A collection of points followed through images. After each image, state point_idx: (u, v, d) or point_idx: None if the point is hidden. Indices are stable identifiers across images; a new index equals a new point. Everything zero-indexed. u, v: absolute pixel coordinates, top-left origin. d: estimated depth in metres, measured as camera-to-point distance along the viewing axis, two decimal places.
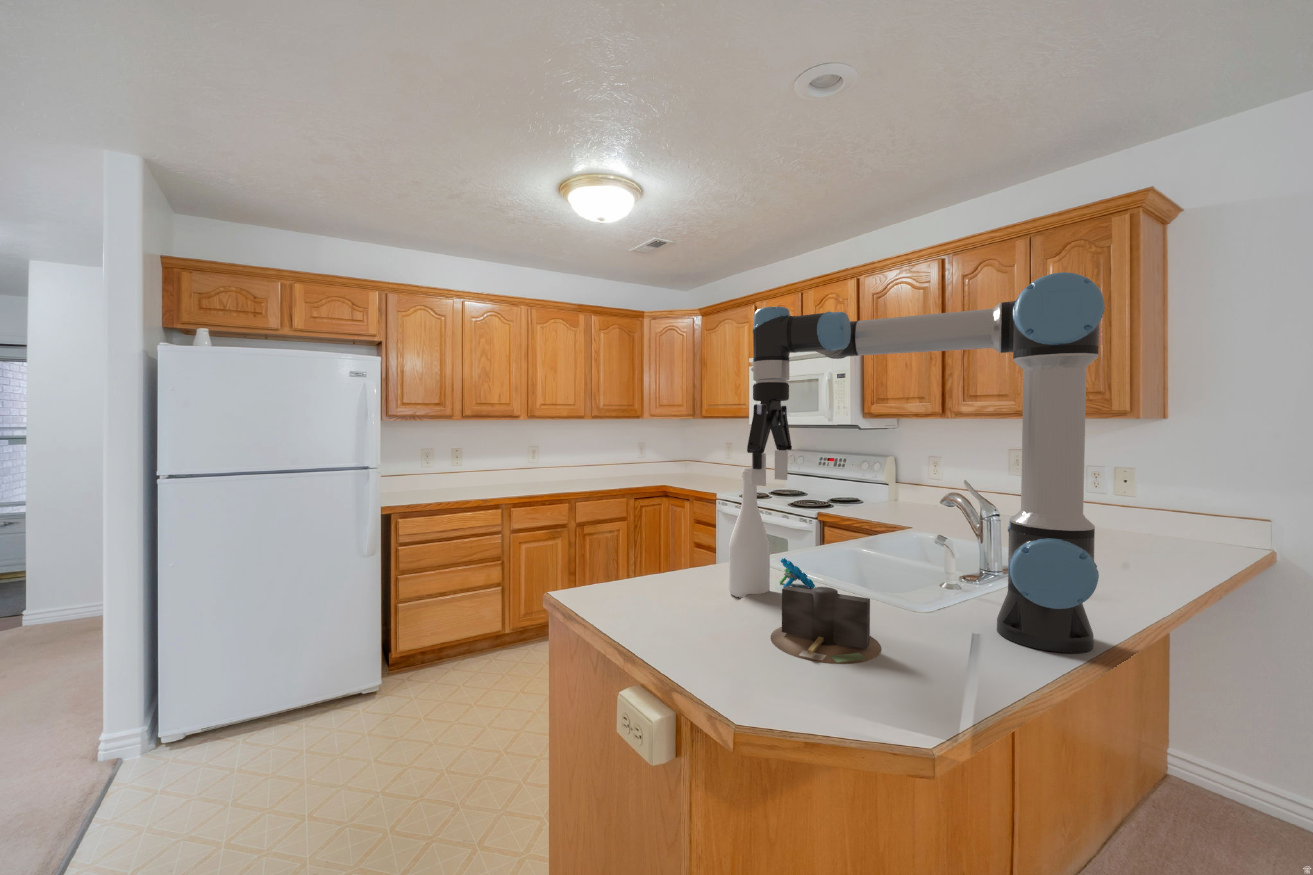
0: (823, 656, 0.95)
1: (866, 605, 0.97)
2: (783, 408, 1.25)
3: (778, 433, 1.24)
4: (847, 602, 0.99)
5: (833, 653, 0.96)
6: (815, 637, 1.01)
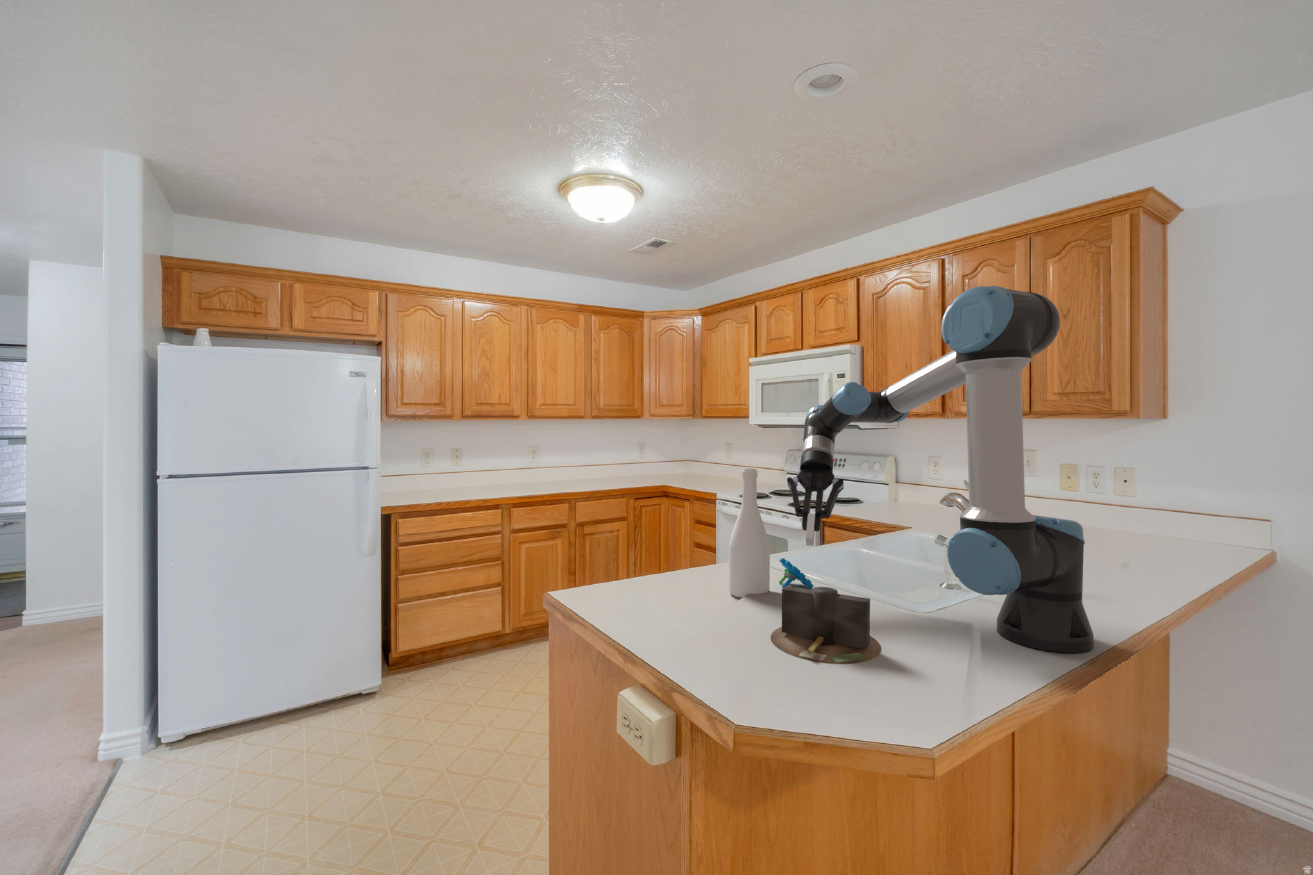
0: (823, 656, 0.95)
1: (866, 605, 0.97)
2: None
3: None
4: (847, 602, 0.99)
5: (833, 653, 0.96)
6: (815, 637, 1.01)
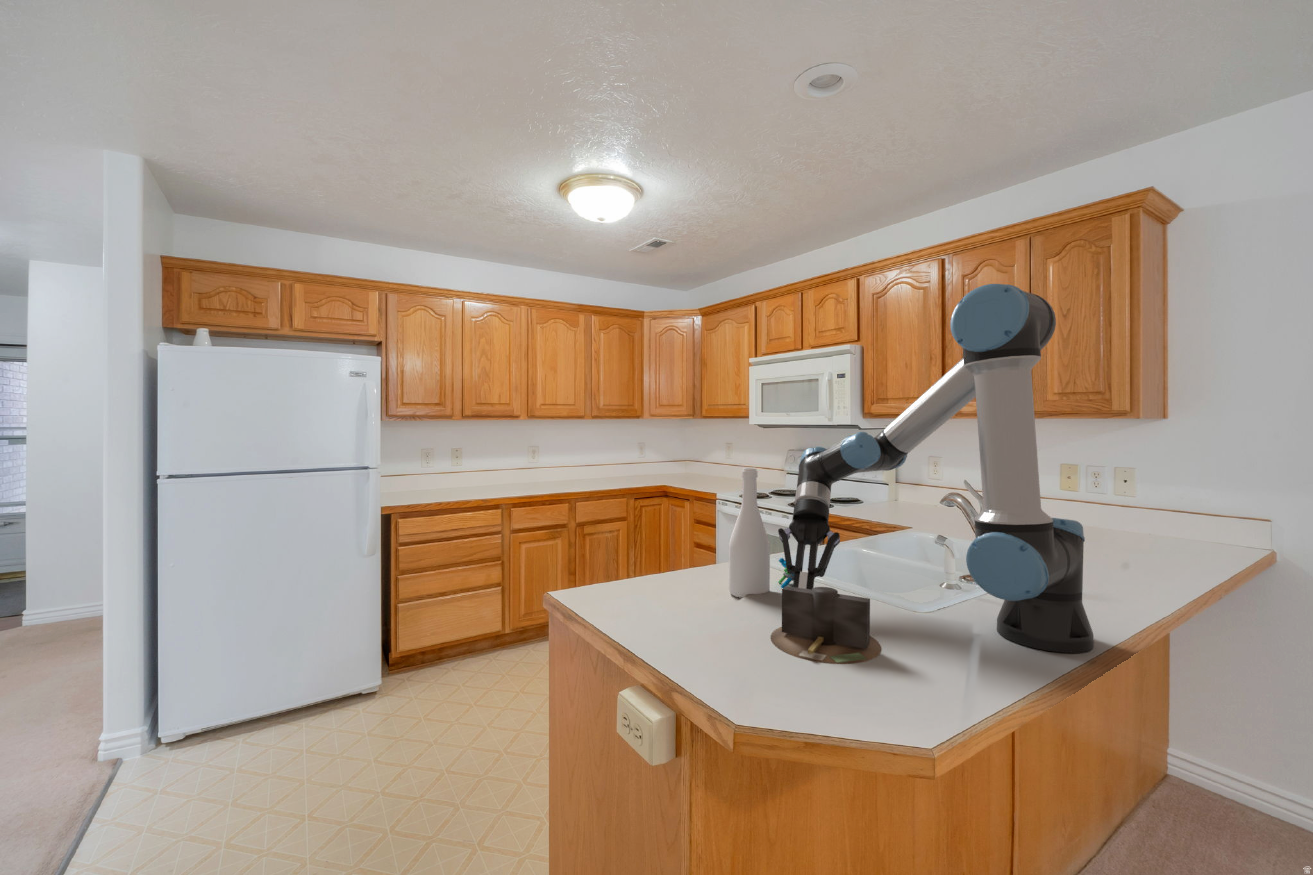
0: (823, 656, 0.95)
1: (866, 605, 0.97)
2: None
3: None
4: (847, 602, 0.99)
5: (833, 653, 0.96)
6: (815, 637, 1.01)
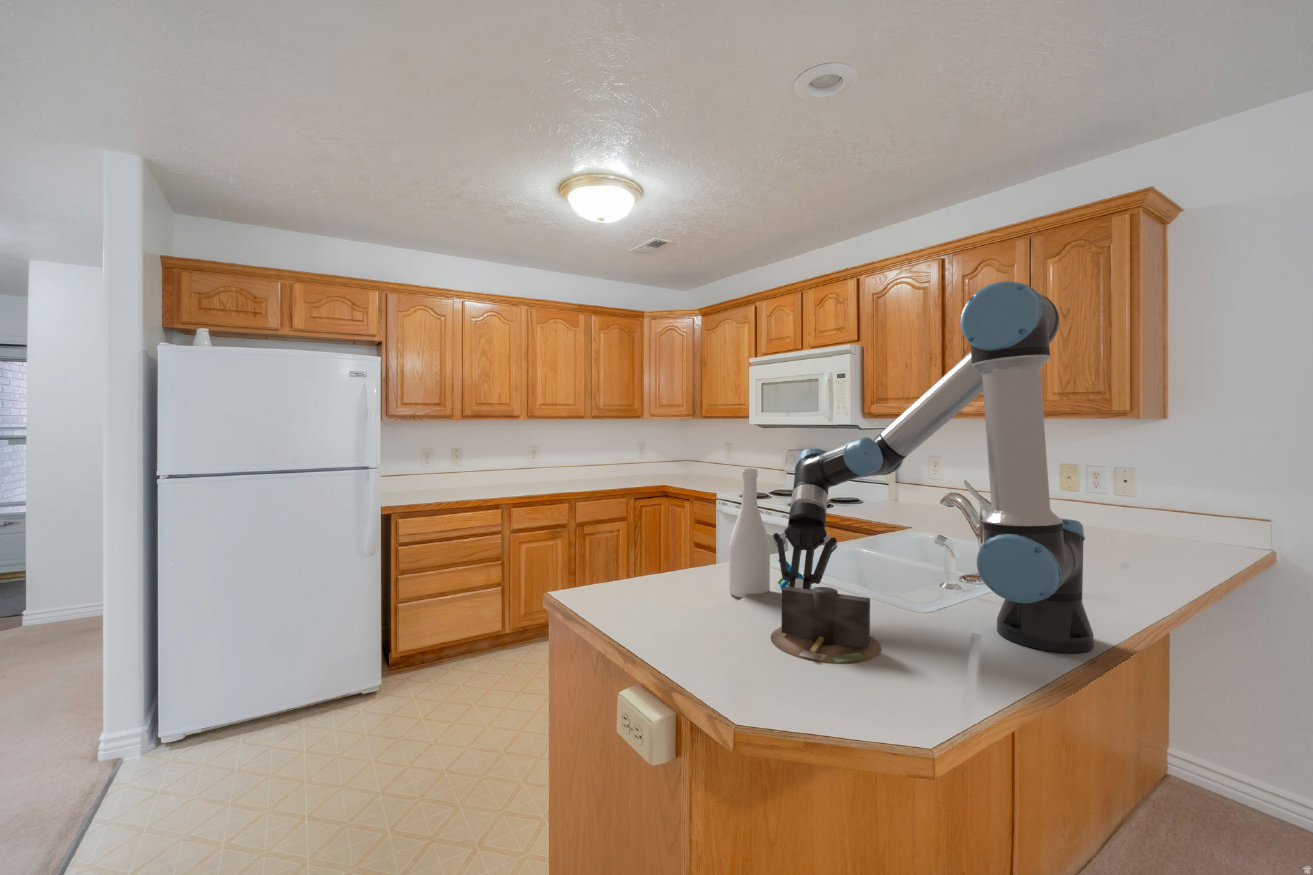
0: (823, 656, 0.95)
1: (866, 605, 0.97)
2: None
3: None
4: (847, 602, 0.99)
5: (833, 653, 0.96)
6: (815, 637, 1.01)
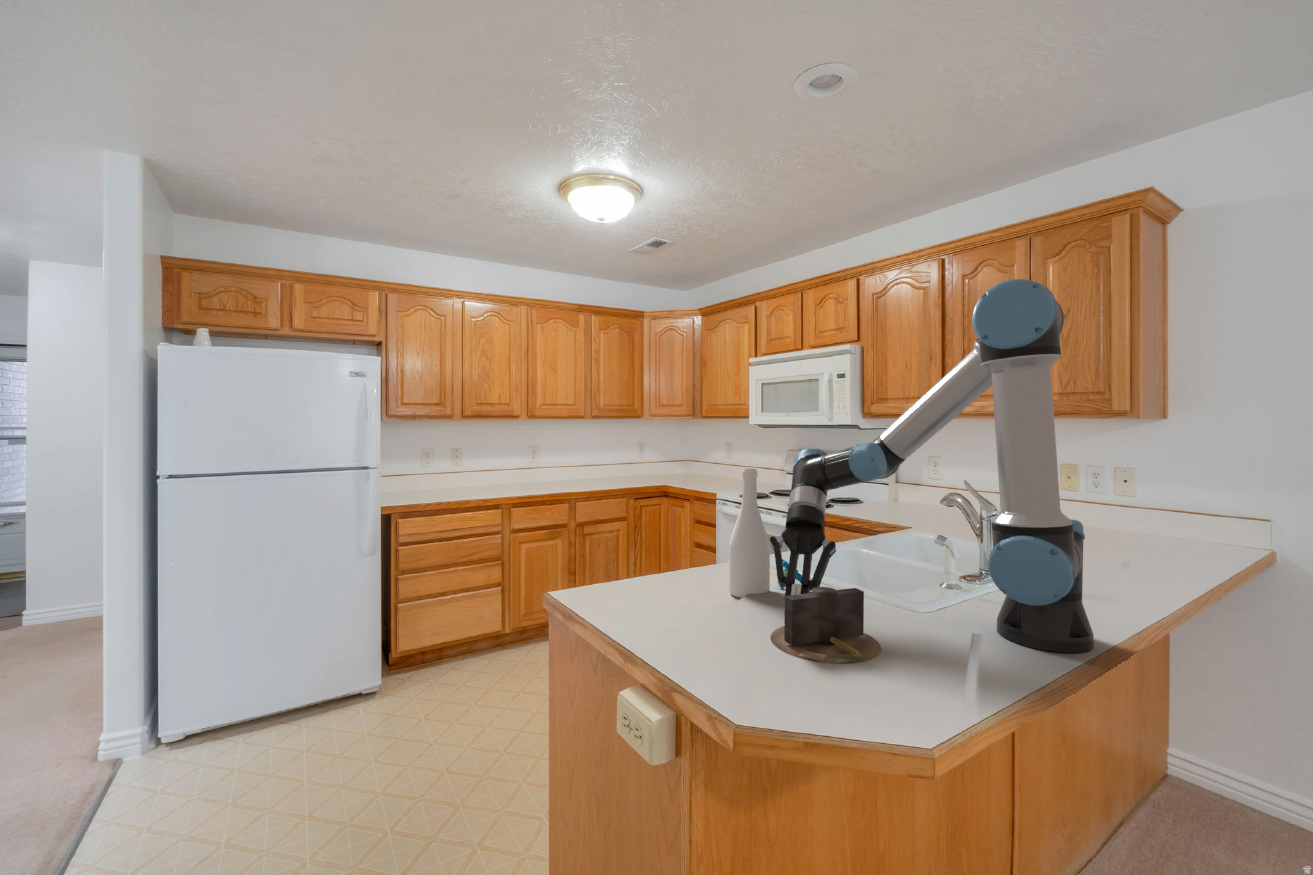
0: (823, 656, 0.95)
1: (862, 595, 1.03)
2: None
3: None
4: (848, 596, 1.02)
5: (833, 653, 0.96)
6: (825, 639, 1.00)
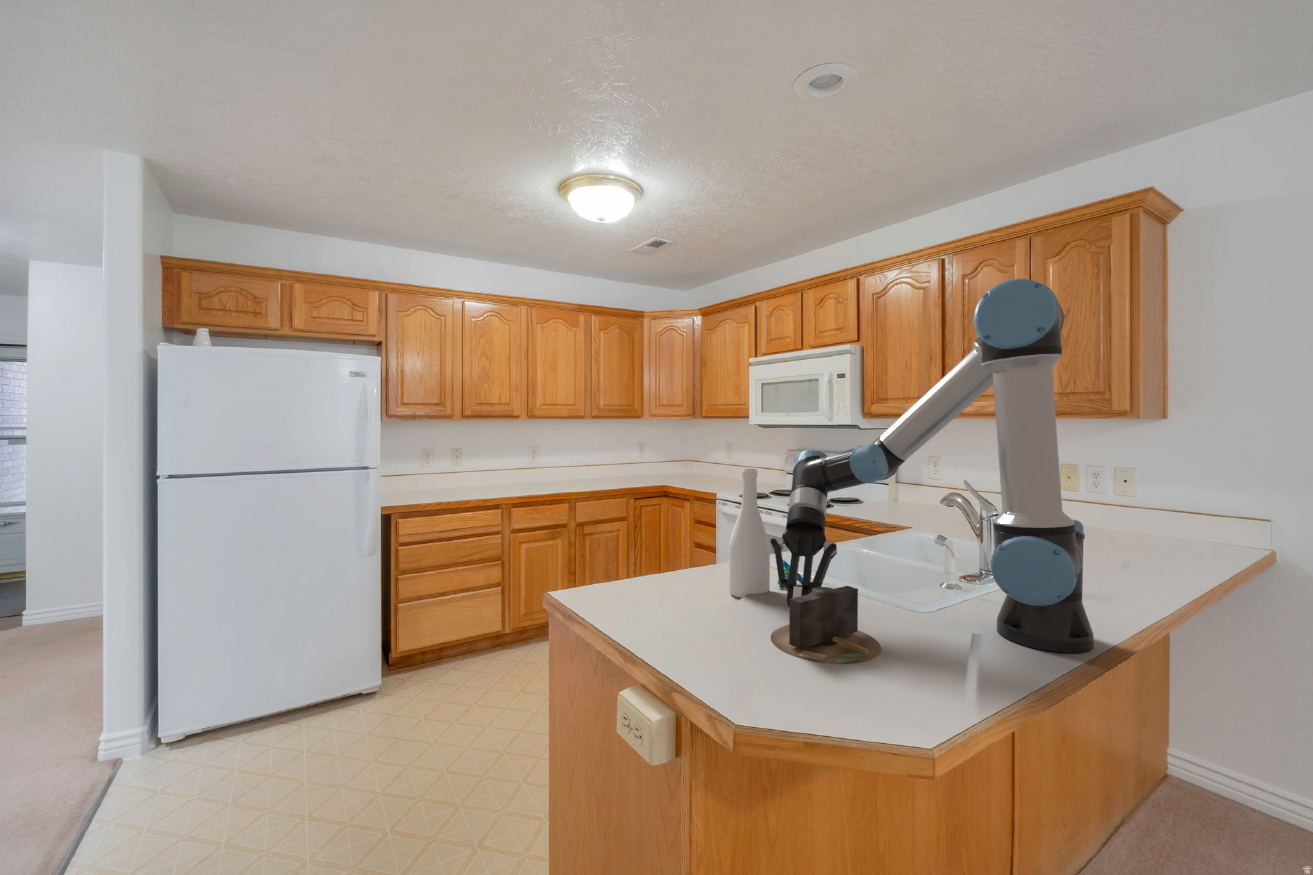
0: (823, 656, 0.95)
1: (857, 592, 1.05)
2: None
3: None
4: (845, 595, 1.03)
5: (833, 653, 0.96)
6: (828, 639, 1.00)
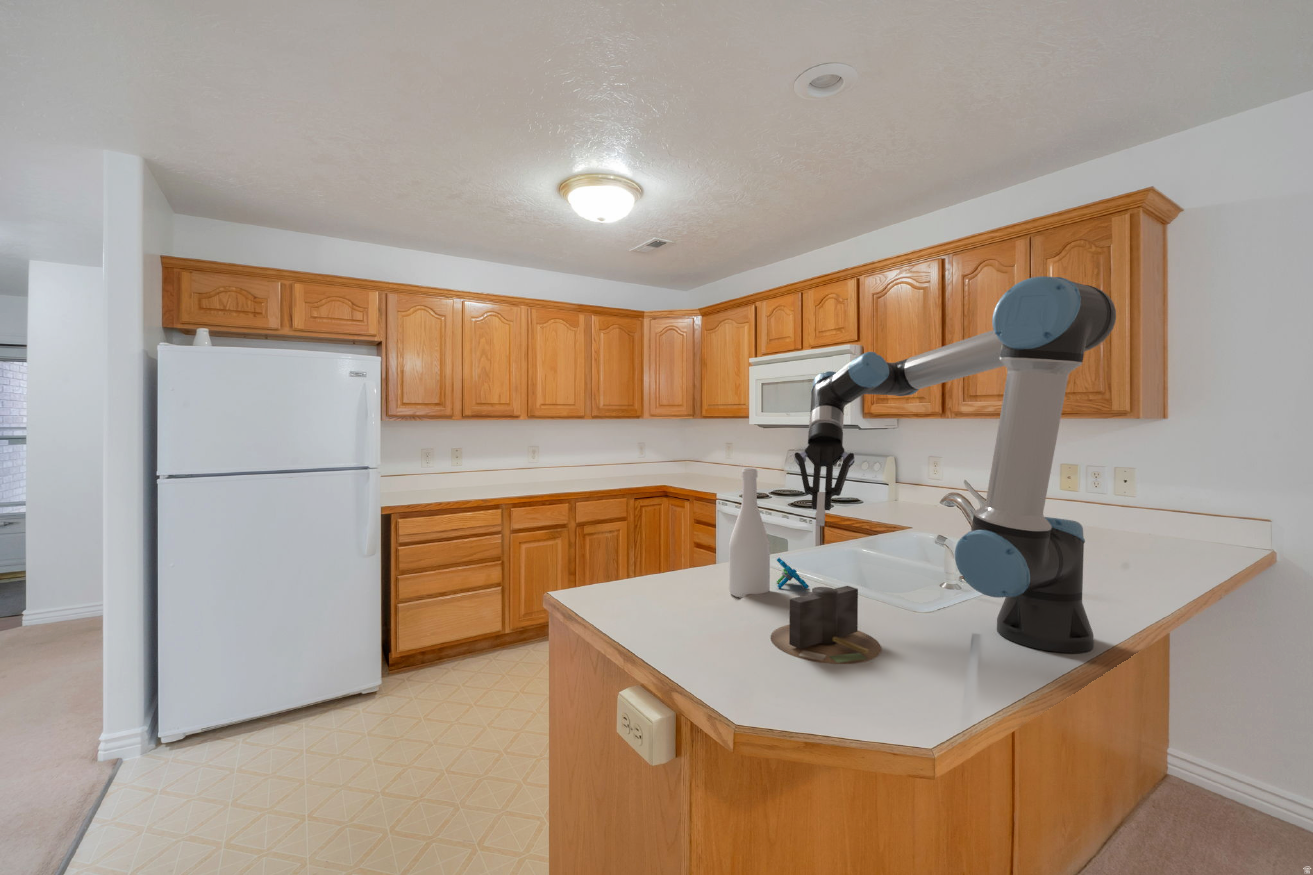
0: (823, 656, 0.95)
1: (857, 592, 1.05)
2: None
3: None
4: (845, 595, 1.03)
5: (833, 653, 0.96)
6: (828, 639, 1.00)
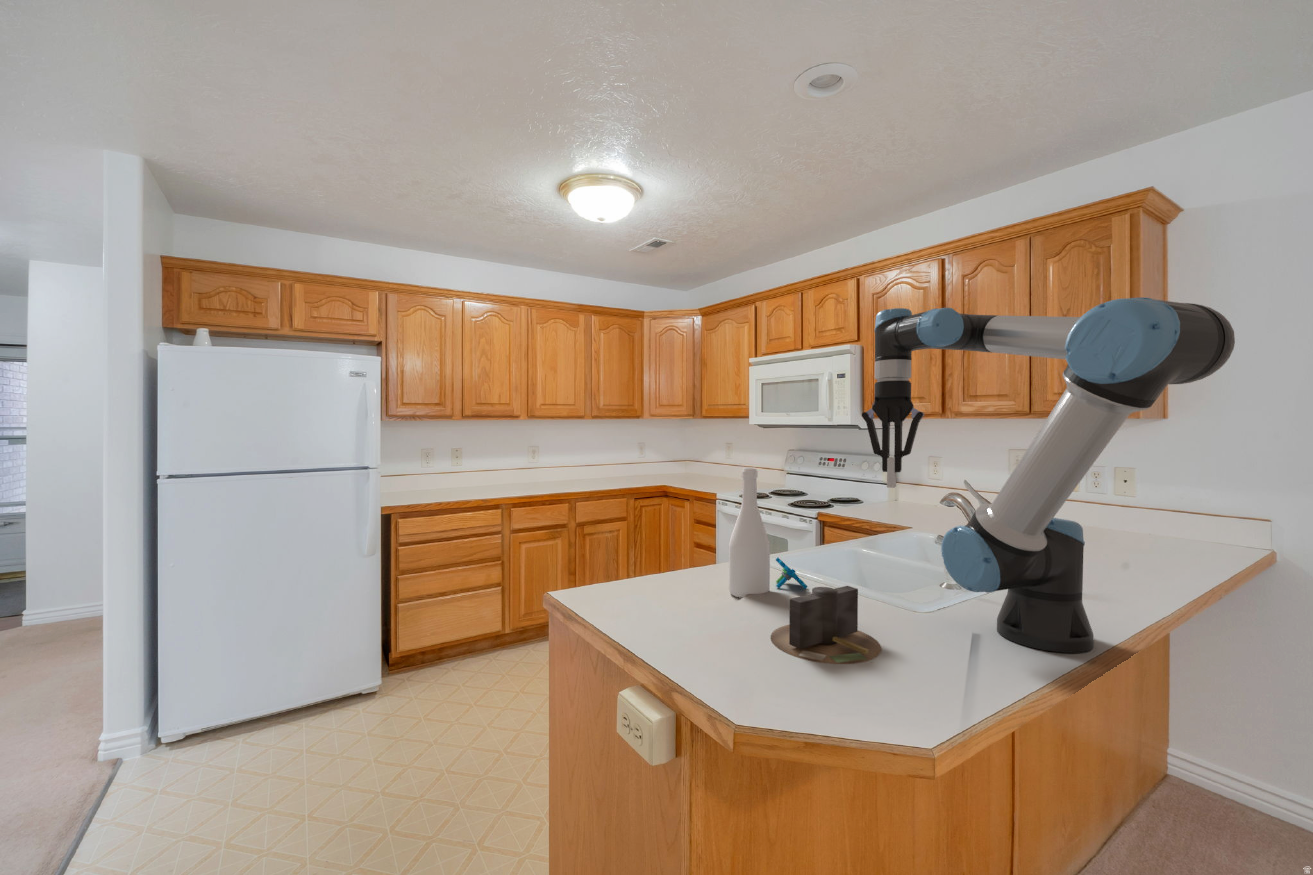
0: (823, 656, 0.95)
1: (857, 592, 1.05)
2: (917, 412, 1.23)
3: None
4: (845, 595, 1.03)
5: (833, 653, 0.96)
6: (828, 639, 1.00)
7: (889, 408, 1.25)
